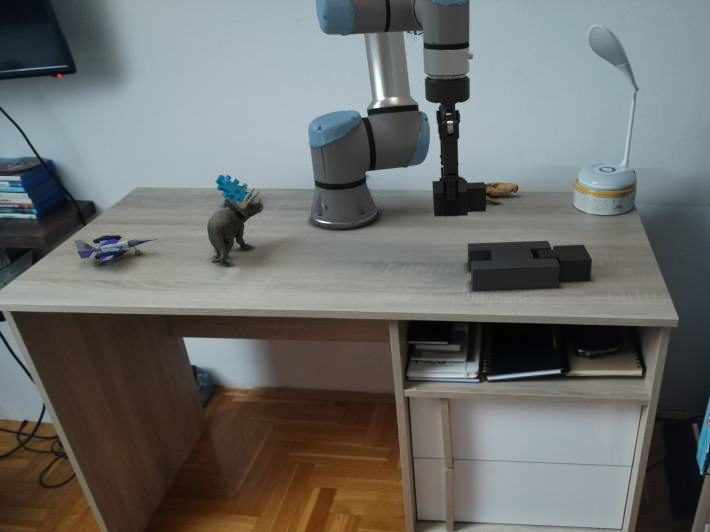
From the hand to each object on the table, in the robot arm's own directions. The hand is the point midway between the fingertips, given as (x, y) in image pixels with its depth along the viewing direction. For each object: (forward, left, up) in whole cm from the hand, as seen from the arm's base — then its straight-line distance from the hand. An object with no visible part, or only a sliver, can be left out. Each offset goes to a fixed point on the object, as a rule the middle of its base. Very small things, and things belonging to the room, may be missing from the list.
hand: (450, 208), depth 119 cm
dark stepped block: (+2, +21, -13) cm, 25 cm away
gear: (-43, -51, -13) cm, 68 cm away
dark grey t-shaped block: (0, +2, 0) cm, 2 cm away
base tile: (+2, +11, -13) cm, 18 cm away
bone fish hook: (-43, +10, -13) cm, 46 cm away
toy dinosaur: (-12, -46, -13) cm, 49 cm away
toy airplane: (-13, -69, -13) cm, 71 cm away
